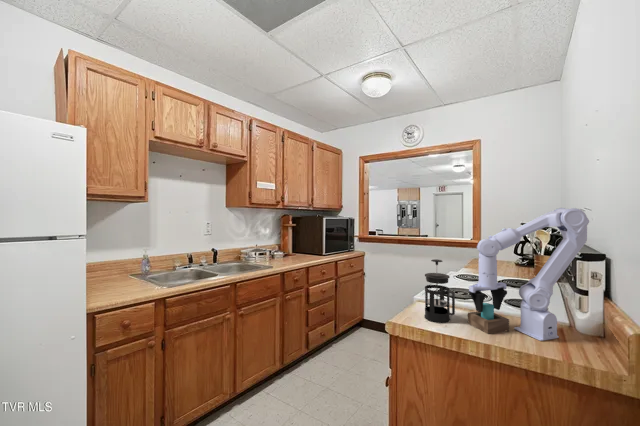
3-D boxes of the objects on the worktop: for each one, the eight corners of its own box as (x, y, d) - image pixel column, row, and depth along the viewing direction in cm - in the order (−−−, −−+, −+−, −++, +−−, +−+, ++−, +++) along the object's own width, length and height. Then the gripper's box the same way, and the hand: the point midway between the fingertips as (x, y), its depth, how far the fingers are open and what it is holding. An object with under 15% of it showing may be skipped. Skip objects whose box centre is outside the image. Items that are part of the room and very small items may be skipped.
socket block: (509, 330, 98) (509, 319, 98) (487, 333, 95) (487, 322, 95) (487, 320, 106) (487, 310, 106) (467, 323, 104) (467, 312, 104)
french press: (418, 317, 110) (417, 259, 109) (429, 311, 116) (429, 256, 116) (448, 327, 101) (448, 263, 101) (459, 319, 108) (458, 260, 107)
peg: (496, 328, 99) (496, 306, 99) (486, 329, 99) (486, 307, 99) (487, 323, 103) (487, 302, 103) (478, 325, 103) (478, 303, 102)
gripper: (494, 268, 106) (494, 304, 106) (462, 271, 102) (462, 308, 103) (511, 272, 99) (511, 310, 100) (477, 276, 96) (478, 315, 96)
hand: (487, 310), depth 101 cm, fingers open, 7 cm apart
